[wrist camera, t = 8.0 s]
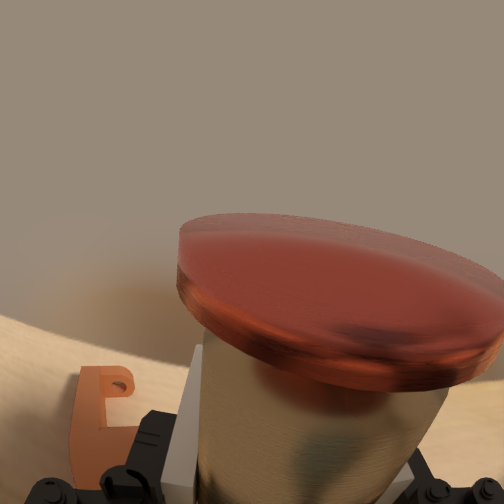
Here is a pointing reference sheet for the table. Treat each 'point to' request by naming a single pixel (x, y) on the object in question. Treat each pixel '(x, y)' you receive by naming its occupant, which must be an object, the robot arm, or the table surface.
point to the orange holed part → (98, 425)
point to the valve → (325, 352)
